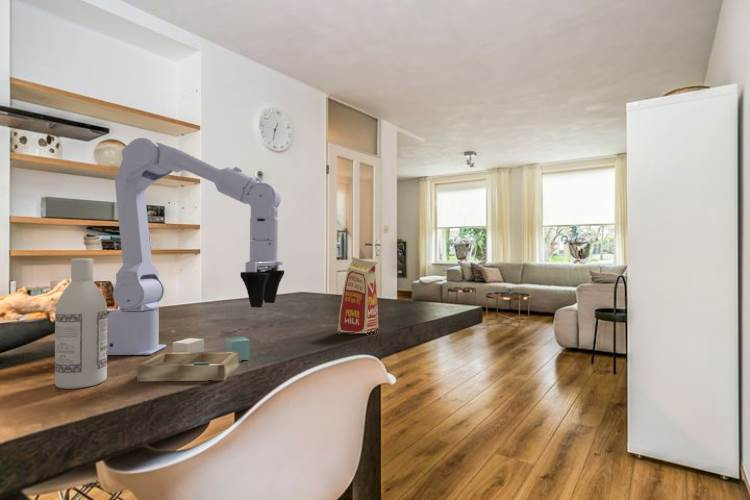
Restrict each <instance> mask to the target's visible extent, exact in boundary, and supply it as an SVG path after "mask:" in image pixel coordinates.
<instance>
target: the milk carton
mask: <svg viewBox="0 0 750 500" xmlns="http://www.w3.org/2000/svg"><path fill="white" fill-rule="evenodd" d="M351 259H352V261H351V263H350V264H349V265H348V268H347V271H346V275H345V281H344V284H343V285H344V286H343V290H342V296H341V299H340V301H341V302H340V307H339V315H338V323H337V324H338V325H337V332H338V331H340V332H355V333H367V332H370V331H374V330H376V329H377V328H378V329H379V309H378V295H377V294H378V289H377V277H376V265H377V264H378V262H376V261H370V260H369V261H368V260H364V259H362V258H358V257H355V256H351Z"/></svg>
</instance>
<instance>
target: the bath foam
mask: <svg viewBox="0 0 750 500" xmlns="http://www.w3.org/2000/svg"><path fill="white" fill-rule="evenodd" d="M70 262H71V263H70V277H71V278H70V279H71V280H70V282H69V283H68V284H67V286H66V288H65V289H64V290H63V292H62V293H61V295H60V296H59V299H58V300H57V303H56V306H55V313H54V314H55V315H54V317H55V318H54V319H55V320H54V321H55V322H54V385H55V386H56V388H59V389H61V390H62V389H63V390H77V389H84V388H89V387H94V386H97V385H99V384H101V383H103V382H105V381H106V380H107V377H108V373H107V372H108V355H107V316H108V305H107V301H106V298H105V295H104V294H103V292H102V291H101V289H100V288H99V287H98V286H97V284H96V283H95V281H94V280H93V278H94V258H83V257H82V258H81V257H80V258H71V261H70Z"/></svg>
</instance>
